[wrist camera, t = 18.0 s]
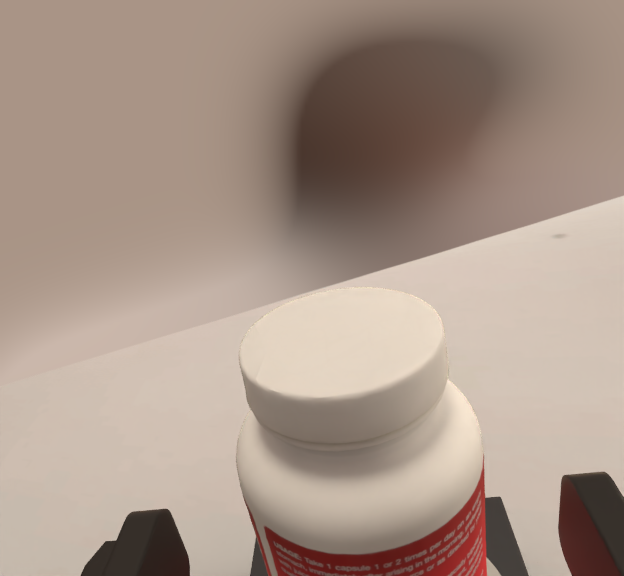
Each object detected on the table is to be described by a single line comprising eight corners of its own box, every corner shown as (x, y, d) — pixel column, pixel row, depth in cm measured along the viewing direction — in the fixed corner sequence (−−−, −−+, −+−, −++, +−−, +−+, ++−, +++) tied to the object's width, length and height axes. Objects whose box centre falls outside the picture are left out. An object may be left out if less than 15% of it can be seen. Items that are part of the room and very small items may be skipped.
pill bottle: (533, 641, 15) (547, 325, 10) (374, 806, 13) (296, 482, 8) (394, 510, 20) (360, 253, 15) (258, 609, 18) (166, 335, 13)
